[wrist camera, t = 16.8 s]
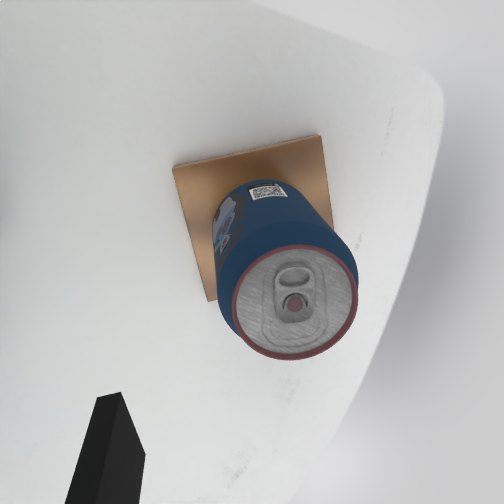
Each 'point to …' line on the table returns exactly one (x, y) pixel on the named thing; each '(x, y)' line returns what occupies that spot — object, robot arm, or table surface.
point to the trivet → (238, 173)
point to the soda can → (282, 272)
